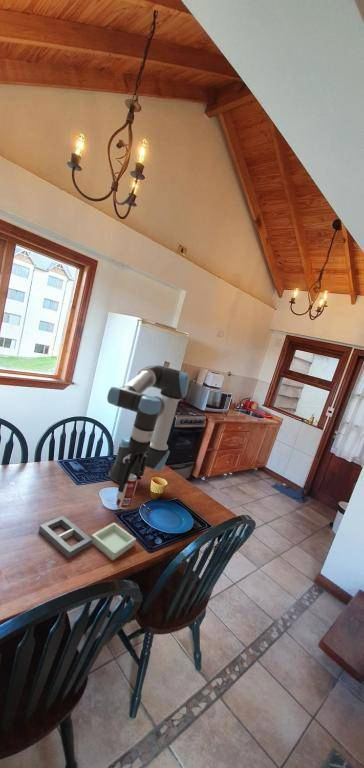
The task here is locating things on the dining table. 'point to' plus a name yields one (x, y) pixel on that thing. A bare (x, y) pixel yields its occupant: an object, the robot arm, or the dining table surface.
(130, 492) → the soda can
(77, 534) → the frame
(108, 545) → the tray
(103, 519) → the dining table surface
